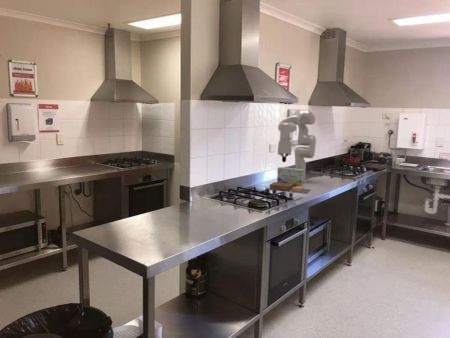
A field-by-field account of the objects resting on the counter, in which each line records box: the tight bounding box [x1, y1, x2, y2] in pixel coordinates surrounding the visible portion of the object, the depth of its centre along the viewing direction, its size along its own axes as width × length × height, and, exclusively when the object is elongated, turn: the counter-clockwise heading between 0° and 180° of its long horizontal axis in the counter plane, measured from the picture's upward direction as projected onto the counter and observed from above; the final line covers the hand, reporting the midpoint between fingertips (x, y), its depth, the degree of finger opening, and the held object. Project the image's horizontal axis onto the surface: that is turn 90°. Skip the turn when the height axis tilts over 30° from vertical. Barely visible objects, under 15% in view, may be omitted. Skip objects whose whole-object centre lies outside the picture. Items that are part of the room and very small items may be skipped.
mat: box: [290, 188, 311, 194], centre depth 291 cm, size 16×13×1 cm
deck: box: [269, 181, 294, 193], centre depth 296 cm, size 14×16×4 cm
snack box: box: [276, 166, 304, 188], centre depth 311 cm, size 21×6×15 cm, turn 62°
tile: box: [293, 186, 305, 192], centre depth 291 cm, size 9×6×2 cm, turn 158°
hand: (284, 161), depth 294 cm, fingers closed
